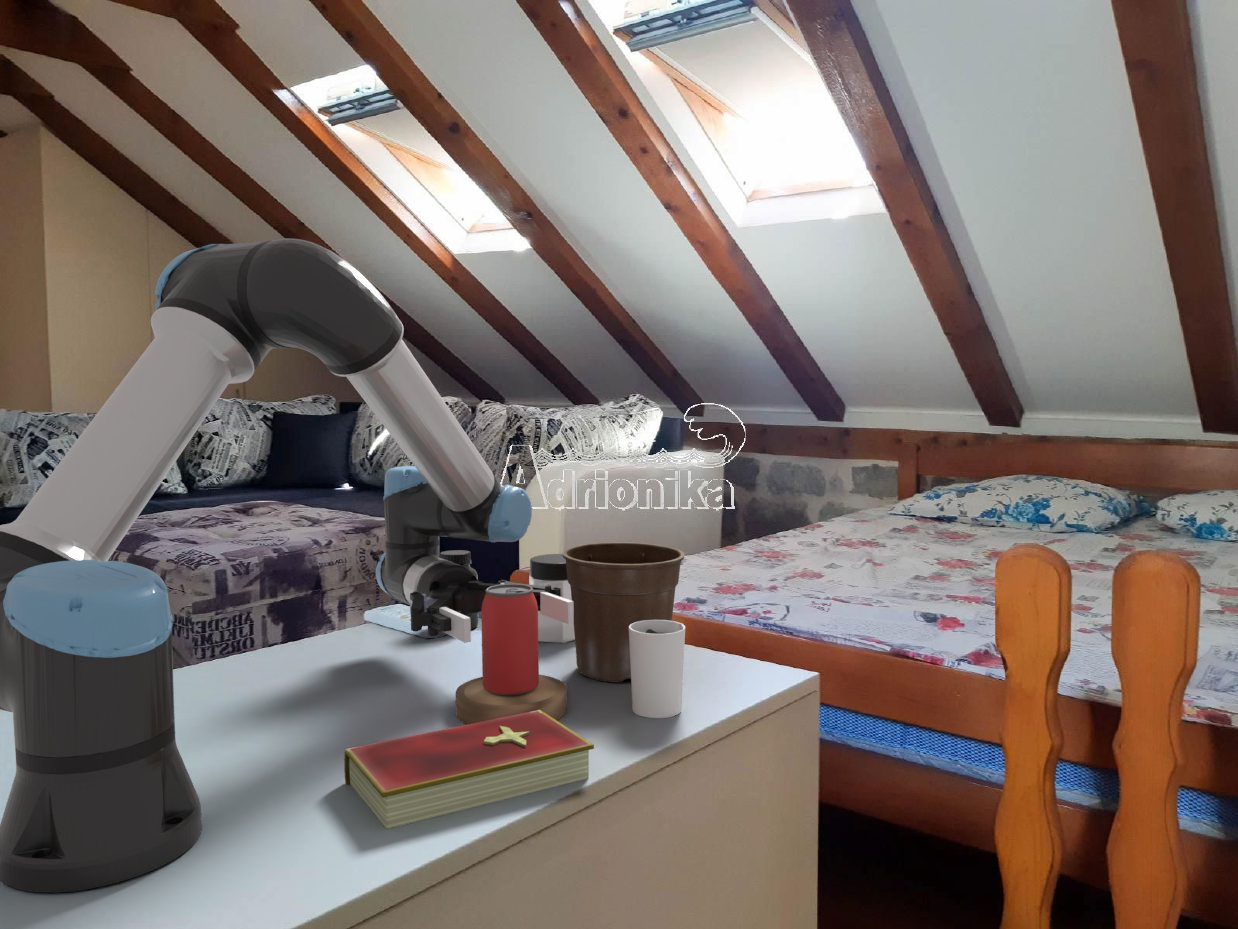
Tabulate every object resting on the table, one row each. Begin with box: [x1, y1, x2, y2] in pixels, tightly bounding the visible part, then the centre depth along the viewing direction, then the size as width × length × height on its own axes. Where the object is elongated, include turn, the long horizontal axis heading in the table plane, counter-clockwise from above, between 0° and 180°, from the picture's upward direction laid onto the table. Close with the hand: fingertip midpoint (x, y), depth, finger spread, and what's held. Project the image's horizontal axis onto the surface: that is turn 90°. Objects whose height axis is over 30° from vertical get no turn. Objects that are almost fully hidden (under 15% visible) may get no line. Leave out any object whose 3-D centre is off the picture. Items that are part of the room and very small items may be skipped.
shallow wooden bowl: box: [455, 673, 568, 725], centre depth 113 cm, size 13×13×2 cm
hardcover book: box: [343, 710, 595, 830], centre depth 93 cm, size 12×21×4 cm, turn 122°
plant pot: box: [561, 542, 685, 683], centre depth 128 cm, size 16×16×16 cm
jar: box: [528, 553, 575, 644], centre depth 145 cm, size 9×8×12 cm
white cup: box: [629, 620, 686, 719], centre depth 112 cm, size 7×7×10 cm
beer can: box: [480, 583, 540, 696], centre depth 112 cm, size 7×7×12 cm
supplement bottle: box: [439, 549, 480, 630], centre depth 151 cm, size 7×7×12 cm
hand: (521, 621), depth 110 cm, fingers open, 13 cm apart
